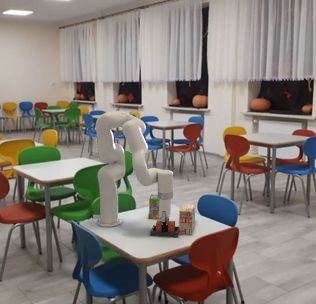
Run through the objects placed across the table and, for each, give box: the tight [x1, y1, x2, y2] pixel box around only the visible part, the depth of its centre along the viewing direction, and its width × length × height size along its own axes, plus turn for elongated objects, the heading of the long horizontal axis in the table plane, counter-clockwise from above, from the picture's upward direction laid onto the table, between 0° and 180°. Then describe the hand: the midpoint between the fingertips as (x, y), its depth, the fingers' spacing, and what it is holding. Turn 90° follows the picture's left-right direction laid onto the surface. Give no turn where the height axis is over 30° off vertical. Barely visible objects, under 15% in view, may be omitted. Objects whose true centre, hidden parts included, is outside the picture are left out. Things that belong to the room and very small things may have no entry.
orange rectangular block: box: [155, 219, 176, 233], centre depth 210 cm, size 9×5×4 cm, turn 79°
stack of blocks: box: [178, 203, 196, 236], centre depth 218 cm, size 21×6×12 cm, turn 168°
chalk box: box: [148, 194, 162, 220], centre depth 235 cm, size 9×9×15 cm
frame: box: [149, 224, 180, 238], centre depth 211 cm, size 14×10×2 cm
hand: (165, 230), depth 210 cm, fingers closed on orange rectangular block, 5 cm apart
